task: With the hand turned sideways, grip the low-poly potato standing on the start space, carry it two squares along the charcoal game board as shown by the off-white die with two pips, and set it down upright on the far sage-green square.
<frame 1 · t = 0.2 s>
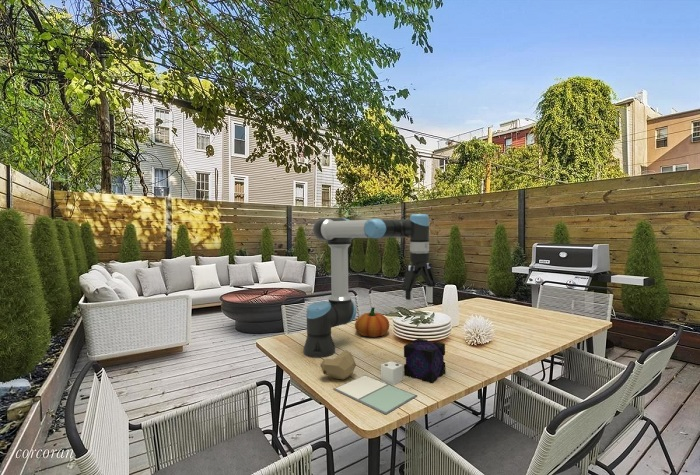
hand: (419, 304, 138), 28 cm above the table, tool pointing down, fingers open, 13 cm apart
pumpkin: (372, 334, 193), on the table
low-poly potato: (338, 377, 136), on the table
energy cube: (424, 375, 138), on the table
game board: (374, 392, 122), on the table
die: (391, 380, 132), on the table
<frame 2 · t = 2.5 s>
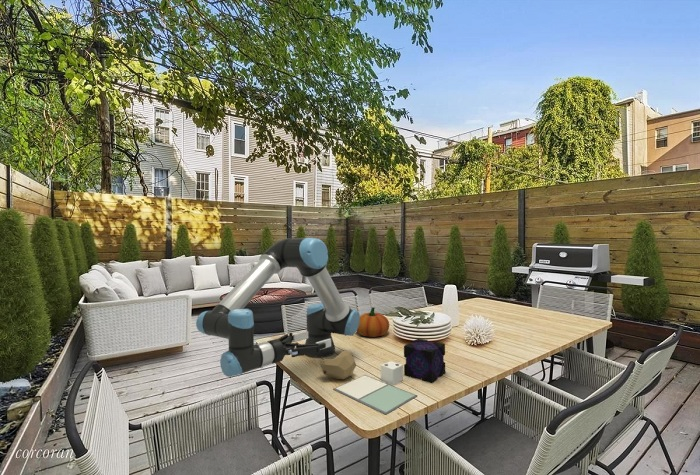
hand: (318, 338, 129), 18 cm above the table, tool horizontal, fingers open, 13 cm apart
nothing on the table moved.
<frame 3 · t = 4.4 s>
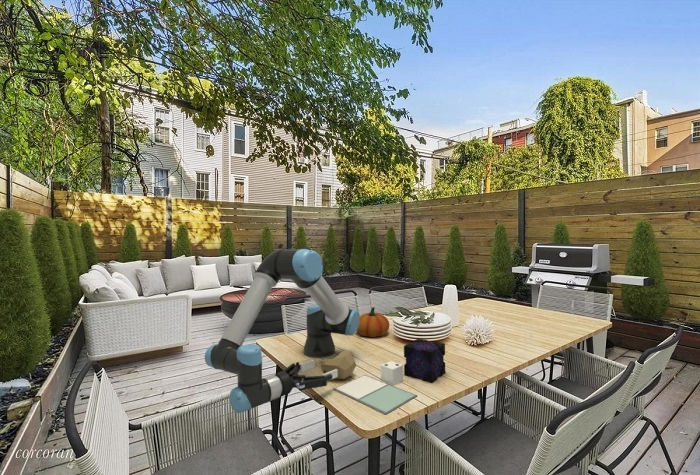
hand: (325, 367, 131), 6 cm above the table, tool horizontal, fingers open, 13 cm apart
nothing on the table moved.
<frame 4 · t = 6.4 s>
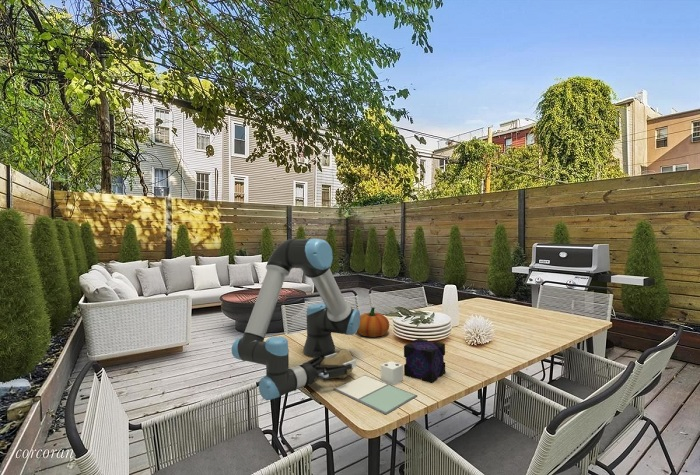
hand: (346, 359, 139), 6 cm above the table, tool horizontal, fingers closed on low-poly potato, 10 cm apart
low-poly potato: (337, 377, 137), on the table, touching gripper
everything else where it was.
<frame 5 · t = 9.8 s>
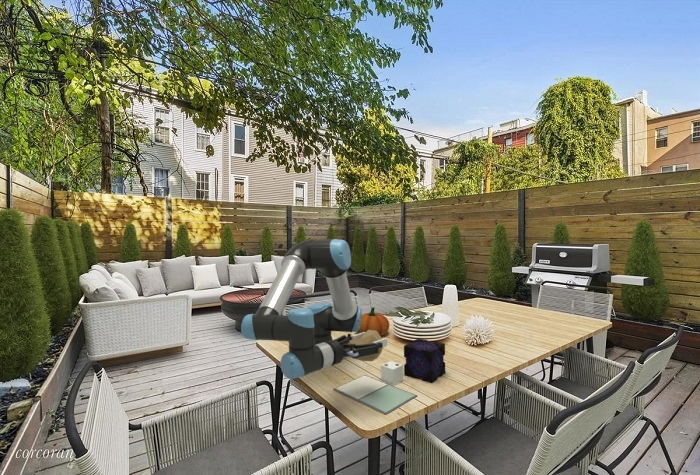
hand: (375, 338, 124), 19 cm above the table, tool horizontal, fingers closed on low-poly potato, 10 cm apart
low-poly potato: (365, 360, 122), point 12 cm above the table, touching gripper
everything else where it was.
when the fingers open (7 cm above the table, at t = 13.0 s): low-poly potato stays where it is, resting on game board.
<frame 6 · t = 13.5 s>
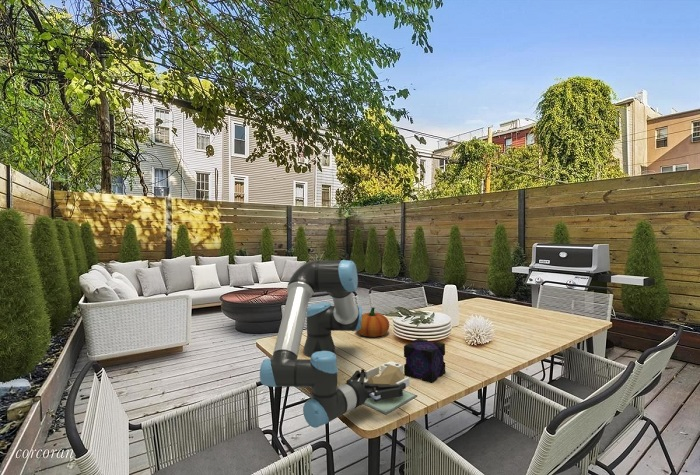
hand: (392, 375, 120), 7 cm above the table, tool horizontal, fingers open, 13 cm apart
low-poly potato: (385, 397, 119), resting on game board
everything else where it was.
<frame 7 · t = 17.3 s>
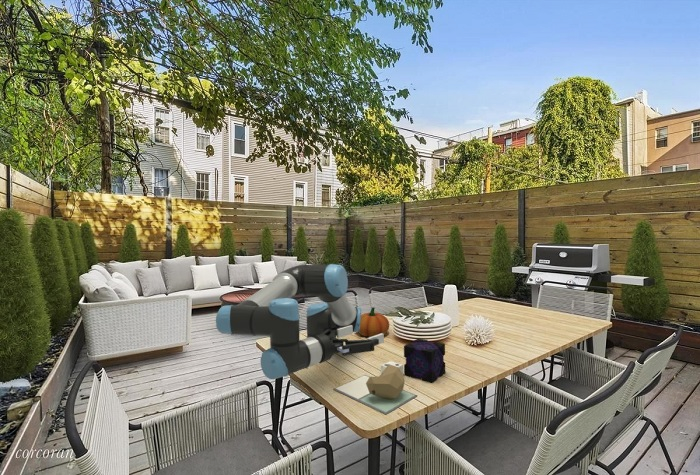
hand: (366, 333, 111), 25 cm above the table, tool horizontal, fingers open, 13 cm apart
nothing on the table moved.
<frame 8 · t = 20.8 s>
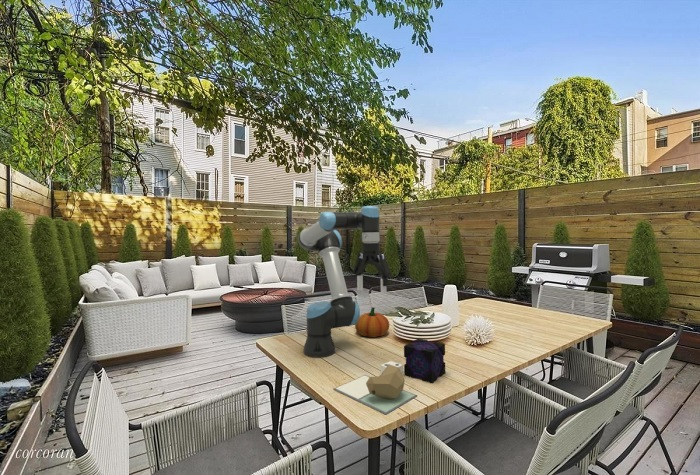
hand: (371, 292, 147), 32 cm above the table, tool pointing down, fingers open, 13 cm apart
nothing on the table moved.
at the end: low-poly potato inside the target area on the game board (0.9 cm from its centre), point 0.2 cm above the game board's base; low-poly potato tilted 0°; the gripper is holding nothing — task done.
